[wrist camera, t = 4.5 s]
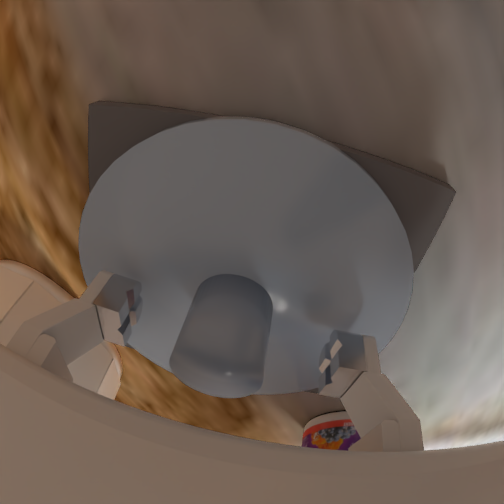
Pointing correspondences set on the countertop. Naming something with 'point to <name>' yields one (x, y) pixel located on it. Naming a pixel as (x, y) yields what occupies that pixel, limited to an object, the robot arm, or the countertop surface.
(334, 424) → the pill bottle
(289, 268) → the lid
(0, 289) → the bowl
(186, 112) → the mat
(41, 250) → the countertop surface
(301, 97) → the countertop surface
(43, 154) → the countertop surface
